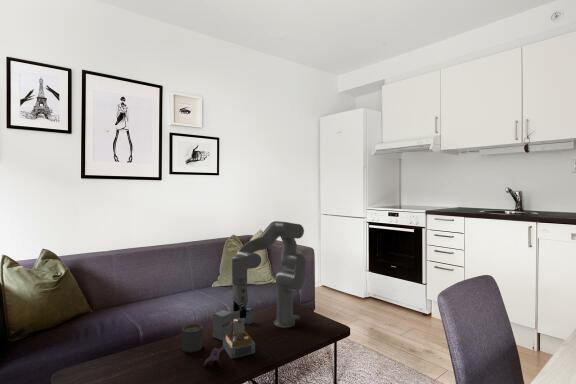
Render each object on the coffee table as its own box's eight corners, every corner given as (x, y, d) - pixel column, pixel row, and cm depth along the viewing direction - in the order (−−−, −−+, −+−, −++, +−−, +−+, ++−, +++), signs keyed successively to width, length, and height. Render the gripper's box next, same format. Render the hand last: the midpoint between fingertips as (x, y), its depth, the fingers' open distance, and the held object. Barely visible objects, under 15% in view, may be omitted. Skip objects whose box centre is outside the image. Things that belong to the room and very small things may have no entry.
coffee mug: (203, 350, 163) (204, 330, 162) (182, 353, 159) (183, 333, 159) (199, 338, 175) (200, 319, 175) (180, 341, 171) (180, 322, 171)
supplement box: (221, 340, 173) (221, 316, 173) (212, 336, 177) (212, 313, 177) (232, 335, 179) (232, 312, 179) (222, 332, 183) (223, 309, 183)
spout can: (242, 336, 167) (242, 316, 167) (245, 340, 162) (246, 320, 162) (227, 339, 164) (228, 319, 164) (231, 343, 159) (231, 323, 159)
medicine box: (238, 322, 197) (238, 307, 197) (242, 319, 201) (242, 305, 201) (249, 325, 193) (249, 310, 193) (253, 322, 197) (253, 308, 197)
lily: (228, 360, 156) (220, 340, 157) (235, 361, 146) (226, 340, 147) (205, 375, 149) (196, 355, 151) (211, 377, 139) (201, 355, 141)
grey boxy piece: (244, 341, 173) (245, 328, 173) (255, 353, 160) (255, 340, 160) (222, 345, 167) (222, 333, 167) (231, 359, 154) (231, 345, 154)
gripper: (253, 284, 157) (253, 319, 158) (240, 275, 173) (240, 307, 173) (238, 286, 154) (238, 322, 154) (227, 276, 169) (227, 309, 170)
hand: (239, 314), depth 164 cm, fingers open, 9 cm apart
